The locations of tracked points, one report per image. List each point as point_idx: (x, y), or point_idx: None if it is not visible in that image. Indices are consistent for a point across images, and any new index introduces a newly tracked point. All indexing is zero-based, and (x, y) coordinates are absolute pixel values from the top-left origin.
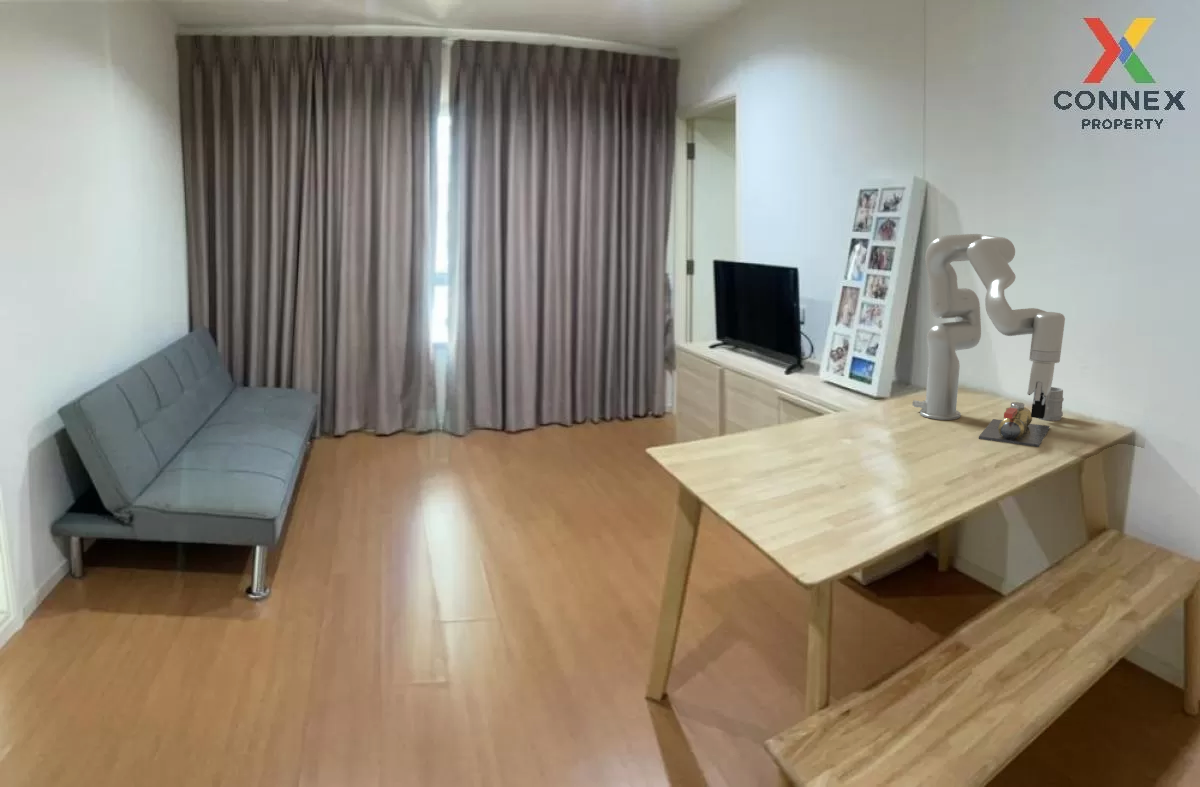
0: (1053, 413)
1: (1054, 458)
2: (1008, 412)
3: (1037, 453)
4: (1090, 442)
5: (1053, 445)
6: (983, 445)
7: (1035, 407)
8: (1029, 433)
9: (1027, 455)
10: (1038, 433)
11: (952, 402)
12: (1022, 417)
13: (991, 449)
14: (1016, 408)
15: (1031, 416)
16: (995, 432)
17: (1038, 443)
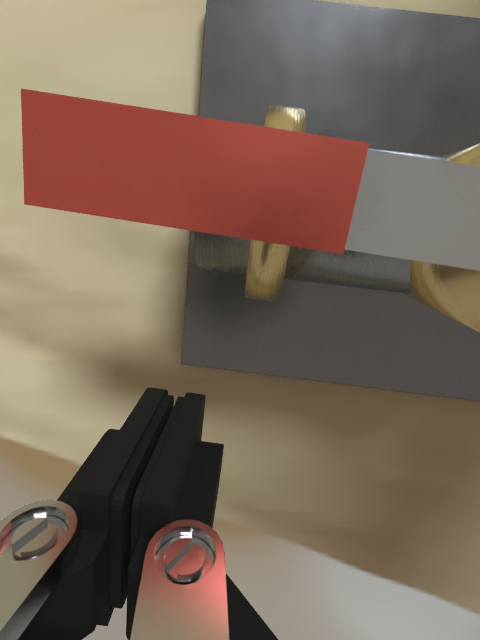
0: None
1: (34, 416)
2: (75, 148)
3: (72, 351)
4: (363, 549)
5: (249, 418)
6: (67, 55)
7: (64, 497)
8: (398, 316)
9: (10, 309)
10: (413, 361)
11: None
12: (425, 291)
13: (9, 116)
14: (357, 240)
15: (149, 391)
16: (356, 106)
17: (200, 361)
